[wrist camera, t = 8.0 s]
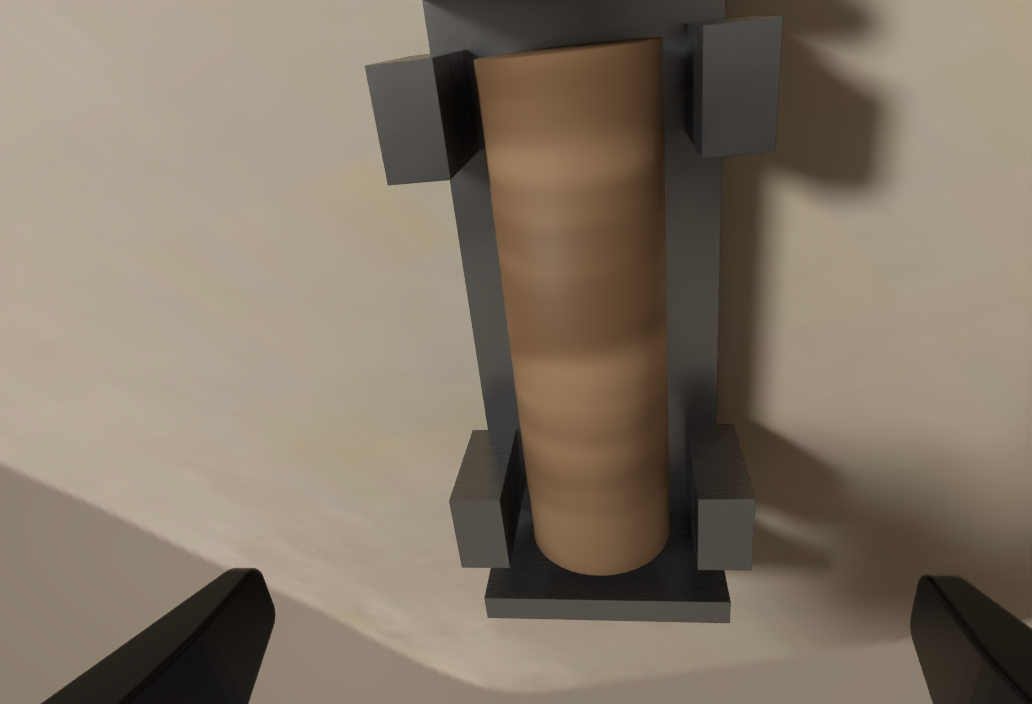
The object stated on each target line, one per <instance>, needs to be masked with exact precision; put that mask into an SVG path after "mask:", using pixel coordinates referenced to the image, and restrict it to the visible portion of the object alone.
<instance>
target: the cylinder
mask: <svg viewBox="0 0 1032 704" xmlns="http://www.w3.org/2000/svg"><path fill="white" fill-rule="evenodd" d="M474 67H475V75H476V83H477V91H478V99H479V106H480V114H481V122H482V130H483V138H484V146H485V153H486V161H487V169H488V177H489V185H490V193H491V200H492V208H493V216H494V224H495V232H496V240H497V248H498V255H499V263H500V271H501V279H502V287H503V295H504V302H505V310H506V318H507V326H508V334H509V342H510V349H511V357H512V365H513V373H514V381H515V389H516V397H517V404H518V412H519V420H520V428H521V436H522V444H523V451H524V459H525V467H526V475H527V483H528V491H529V498H530V506H531V514H532V522H533V530H534V537H535V540H536V543H537V545H538V547H539V549H540V550H541V551H542V553H543V554H544V555H545V556H546V557H547V558H548V559H549V560H551V561H552V562H554V563H555V564H557V565H559V566H561V567H562V568H565V569H567V570H570V571H573V572H577V573H581V574H587V575H598V576H601V575H615V574H621V573H625V572H629V571H632V570H635V569H637V568H639V567H641V566H643V565H645V564H647V563H648V562H650V561H651V560H653V559H654V558H655V557H656V556H657V555H658V554H659V553H660V552H661V551H662V549H663V548H664V546H665V545H666V543H667V540H668V537H669V527H670V526H669V450H668V375H667V300H666V225H665V150H664V75H663V37H648V38H634V39H622V40H612V41H602V42H592V43H583V44H575V45H566V46H558V47H550V48H542V49H535V50H527V51H520V52H513V53H507V54H500V55H494V56H488V57H483V58H478V59H475V60H474Z"/></svg>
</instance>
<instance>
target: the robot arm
mask: <svg viewBox="0 0 1032 704" xmlns="http://www.w3.org/2000/svg"><path fill="white" fill-rule="evenodd" d="M274 622H275V608H274V604H273V602H272V599H271V596H270V593H269V591H268V588H267V585H266V583H265V580H264V577H263V575H262V573H261V572H260V571H259V570H258V569H255V568H233V569H230V570H228V571H226V572H224V573H223V574H222V575H220V576H219V577H217V578H216V579H215V580H213V581H212V582H210V583H209V584H208V585H206V586H205V587H203V588H202V589H201V590H199V591H198V592H197V593H195V594H194V595H192V596H191V597H190V598H188V599H187V600H185V601H184V602H182V603H181V604H180V605H178V606H177V607H175V608H174V609H173V610H171V611H170V612H168V613H167V614H166V615H164V616H163V617H162V618H160V619H159V620H157V621H156V622H155V623H153V624H152V625H150V626H149V627H148V628H146V629H145V630H143V631H142V632H141V633H139V634H138V635H136V636H135V637H134V638H132V639H131V640H129V641H128V642H127V643H125V644H124V645H122V646H121V647H120V648H118V649H117V650H115V651H114V652H112V653H111V654H110V655H108V656H107V657H105V658H104V659H103V660H101V661H100V662H98V663H97V664H96V665H94V666H93V667H91V668H90V669H89V670H87V671H86V672H84V673H83V674H82V675H81V676H79V677H77V678H76V679H75V680H73V681H72V682H70V683H69V684H68V685H66V686H65V687H63V688H62V689H61V690H59V691H58V692H56V693H55V694H54V695H52V696H51V697H49V698H48V699H47V700H45V701H44V702H42V703H41V704H248V703H249V700H250V697H251V694H252V691H253V688H254V685H255V682H256V679H257V676H258V672H259V670H260V667H261V663H262V660H263V657H264V654H265V651H266V648H267V645H268V642H269V639H270V636H271V632H272V629H273V626H274ZM910 629H911V635H912V640H913V643H914V646H915V649H916V652H917V655H918V659H919V662H920V665H921V667H922V671H923V674H924V677H925V680H926V683H927V686H928V690H929V693H930V696H931V699H932V702H933V704H1032V629H1031V628H1030V627H1029V626H1027V625H1026V624H1025V623H1023V622H1022V621H1021V620H1019V619H1018V618H1017V617H1015V616H1014V615H1013V614H1011V613H1010V612H1009V611H1007V610H1006V609H1004V608H1003V607H1002V606H1000V605H999V604H998V603H996V602H995V601H994V600H992V599H991V598H990V597H988V596H987V595H986V594H984V593H983V592H982V591H980V590H979V589H977V588H976V587H975V586H973V585H972V584H971V583H969V582H968V581H967V580H965V579H964V578H962V577H960V576H958V575H954V574H925V575H923V576H921V578H920V579H919V582H918V585H917V590H916V595H915V600H914V605H913V609H912V614H911V620H910Z"/></svg>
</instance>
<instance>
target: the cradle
mask: <svg viewBox="0 0 1032 704" xmlns="http://www.w3.org/2000/svg"><path fill="white" fill-rule="evenodd" d="M422 1H423V8H424V14H425V21H426V27H427V34H428V40H429V47H430V53H431V54H425V55H416V56H409V57H404V58H400V59H395V60H390V61H385V62H381V63H376V64H371V65H366V66H365V69H366V75H367V80H368V85H369V90H370V95H371V100H372V106H373V111H374V116H375V121H376V126H377V131H378V137H379V142H380V147H381V152H382V157H383V162H384V167H385V173H386V178H387V183H388V185H398V184H410V183H421V182H433V181H444V180H450V184H451V191H452V197H453V204H454V210H455V217H456V223H457V230H458V236H459V243H460V250H461V256H462V263H463V269H464V276H465V282H466V289H467V295H468V302H469V308H470V315H471V321H472V328H473V334H474V341H475V348H476V354H477V361H478V367H479V374H480V380H481V387H482V393H483V400H484V406H485V413H486V419H487V426H488V430H473V431H472V434H471V437H470V440H469V443H468V446H467V449H466V452H465V455H464V458H463V461H462V464H461V467H460V470H459V473H458V476H457V479H456V482H455V485H454V488H453V491H452V494H451V497H450V500H449V503H450V508H451V513H452V518H453V523H454V529H455V534H456V539H457V544H458V549H459V554H460V560H461V565H462V567H468V568H491V570H490V575H489V580H488V584H487V589H486V593H485V598H484V599H485V604H486V610H487V615H488V618H521V619H566V620H611V621H655V622H700V623H730V608H731V602H730V597H729V592H728V587H727V582H726V577H725V572H724V570H751V567H752V549H753V532H754V514H755V496H754V493H753V490H752V486H751V483H750V479H749V476H748V473H747V469H746V466H745V463H744V459H743V456H742V452H741V449H740V446H739V442H738V439H737V435H736V432H735V429H734V425H733V424H719V425H716V398H717V355H718V312H719V269H720V225H721V182H722V156H730V155H742V154H753V153H765V152H775V144H776V127H777V109H778V92H779V74H780V56H781V39H782V21H783V16H742V17H734V18H726V19H725V9H726V0H422ZM648 37H663V75H664V150H665V225H666V300H667V375H668V450H669V526H670V527H669V537H668V540H667V543H666V545H665V546H664V548H663V549H662V551H661V552H660V553H659V554H658V555H657V556H656V557H655V558H654V559H653V560H651V561H650V562H648V563H647V564H645V565H643V566H641V567H639V568H637V569H635V570H632V571H629V572H625V573H621V574H615V575H601V576H598V575H587V574H581V573H577V572H573V571H570V570H567V569H565V568H562V567H561V566H559V565H557V564H555V563H554V562H552V561H551V560H549V559H548V558H547V557H546V556H545V555H544V554H543V553H542V551H541V550H540V549H539V547H538V545H537V543H536V540H535V537H534V530H533V522H532V514H531V506H530V498H529V491H528V483H527V475H526V467H525V459H524V451H523V444H522V436H521V428H520V420H519V412H518V404H517V397H516V389H515V381H514V373H513V365H512V357H511V349H510V342H509V334H508V326H507V318H506V310H505V302H504V295H503V287H502V279H501V271H500V263H499V255H498V248H497V240H496V232H495V224H494V216H493V208H492V200H491V193H490V185H489V177H488V169H487V161H486V153H485V146H484V138H483V130H482V122H481V114H480V106H479V99H478V91H477V83H476V75H475V67H474V60H475V59H478V58H483V57H488V56H494V55H500V54H507V53H513V52H520V51H527V50H535V49H542V48H550V47H558V46H566V45H575V44H583V43H592V42H602V41H612V40H622V39H634V38H648Z"/></svg>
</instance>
